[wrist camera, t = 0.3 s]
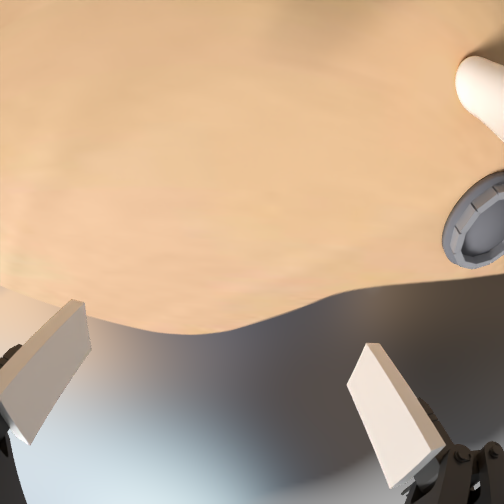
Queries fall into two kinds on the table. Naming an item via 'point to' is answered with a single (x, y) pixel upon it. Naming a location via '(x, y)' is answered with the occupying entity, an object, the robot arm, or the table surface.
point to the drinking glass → (482, 91)
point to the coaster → (477, 225)
